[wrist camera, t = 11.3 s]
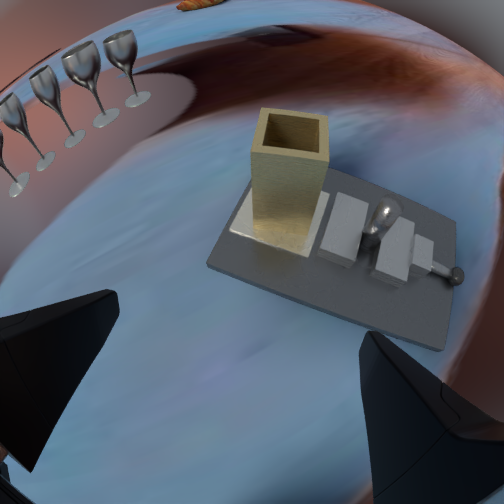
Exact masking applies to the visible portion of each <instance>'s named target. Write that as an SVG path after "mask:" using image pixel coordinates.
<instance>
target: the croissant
mask: <svg viewBox="0 0 504 504" xmlns="http://www.w3.org/2000/svg"><path fill="white" fill-rule="evenodd" d="M222 1H224V0H184V2H181V3H180V4H179V5H178V6H176V8H177V9H178V10H182V11H185V10H196V9H200V8H206V7H209V6H213V5H216V4H218V3H221V2H222Z"/></svg>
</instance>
